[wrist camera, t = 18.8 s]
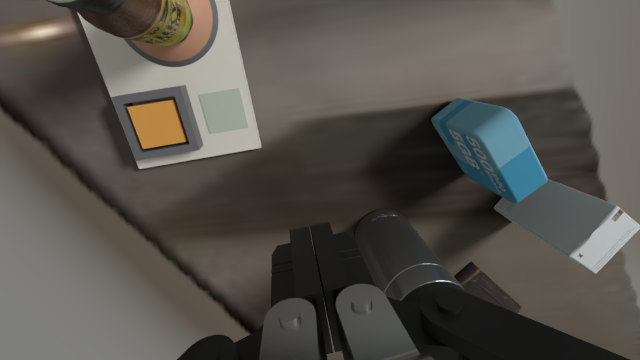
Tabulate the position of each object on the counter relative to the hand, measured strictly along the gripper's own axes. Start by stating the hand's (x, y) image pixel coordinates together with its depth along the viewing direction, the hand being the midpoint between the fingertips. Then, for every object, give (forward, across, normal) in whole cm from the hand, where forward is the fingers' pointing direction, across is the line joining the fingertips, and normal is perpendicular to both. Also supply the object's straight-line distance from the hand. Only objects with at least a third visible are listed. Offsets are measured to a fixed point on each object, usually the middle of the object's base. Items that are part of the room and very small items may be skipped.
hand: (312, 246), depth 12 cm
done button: (+30, +15, -2) cm, 34 cm away
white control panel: (+32, +12, -8) cm, 35 cm away
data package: (+32, -25, +8) cm, 42 cm away
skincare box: (+32, -36, +20) cm, 52 cm away
